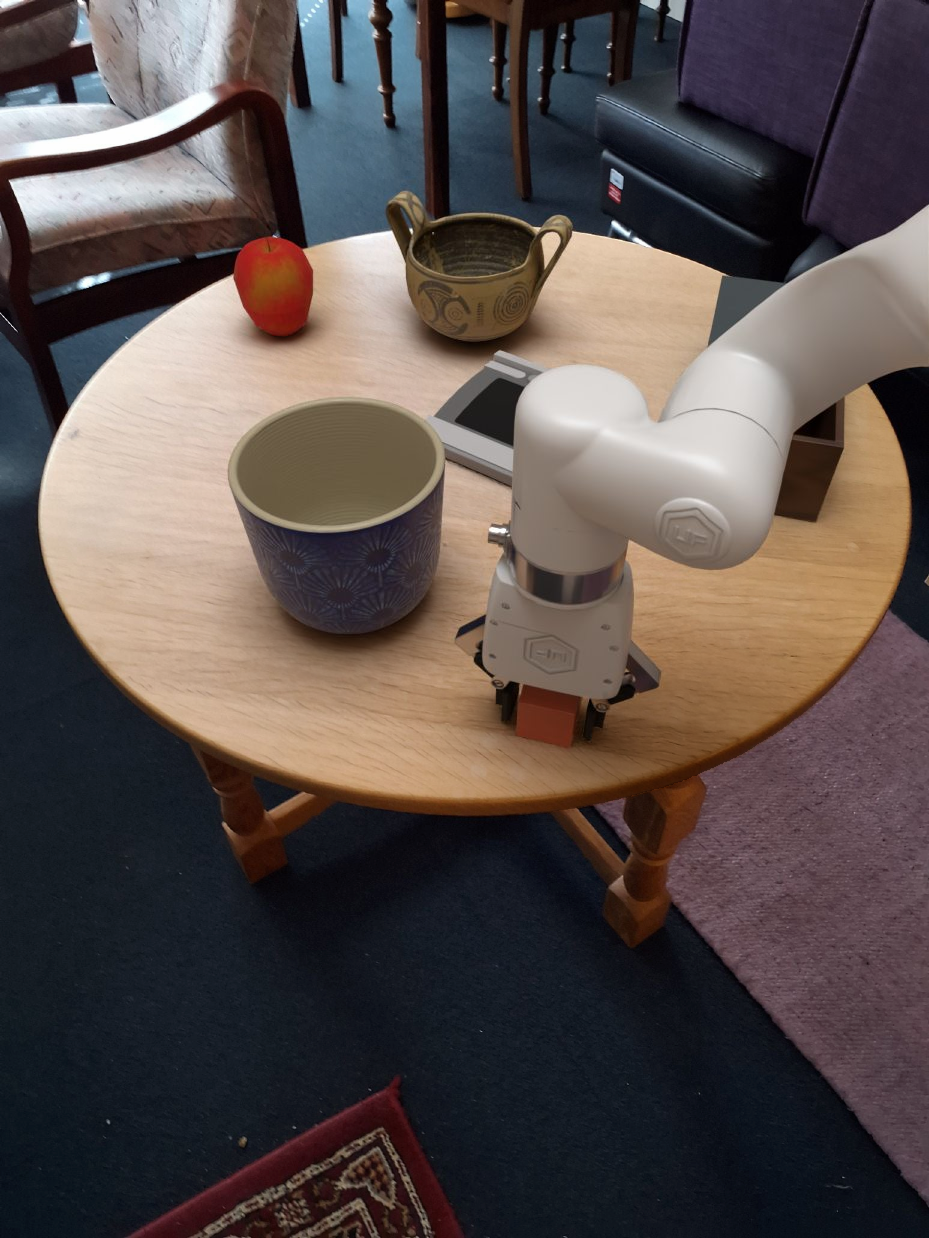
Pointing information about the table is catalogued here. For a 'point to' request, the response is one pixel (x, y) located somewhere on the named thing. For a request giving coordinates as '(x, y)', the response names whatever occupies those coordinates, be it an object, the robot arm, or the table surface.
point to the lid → (738, 301)
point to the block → (547, 715)
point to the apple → (274, 284)
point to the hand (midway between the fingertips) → (549, 716)
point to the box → (812, 464)
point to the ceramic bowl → (473, 267)
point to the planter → (342, 509)
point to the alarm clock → (486, 416)
